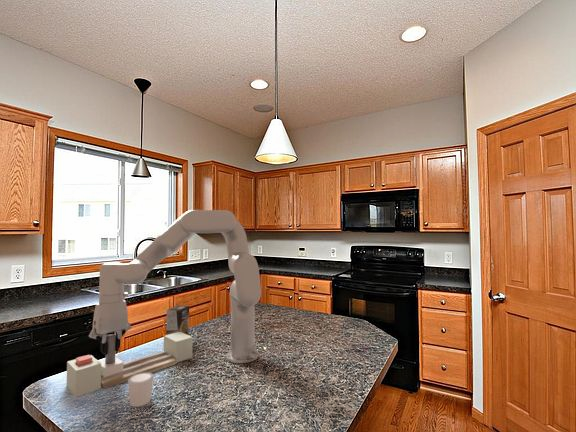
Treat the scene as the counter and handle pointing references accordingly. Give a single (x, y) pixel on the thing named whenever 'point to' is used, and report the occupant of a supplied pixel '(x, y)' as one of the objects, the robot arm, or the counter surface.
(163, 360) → the rail track
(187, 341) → the cabinet
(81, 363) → the red block
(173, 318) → the coffee box
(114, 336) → the carriage
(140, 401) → the pale pink cylinder cup
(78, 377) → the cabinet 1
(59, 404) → the counter surface
